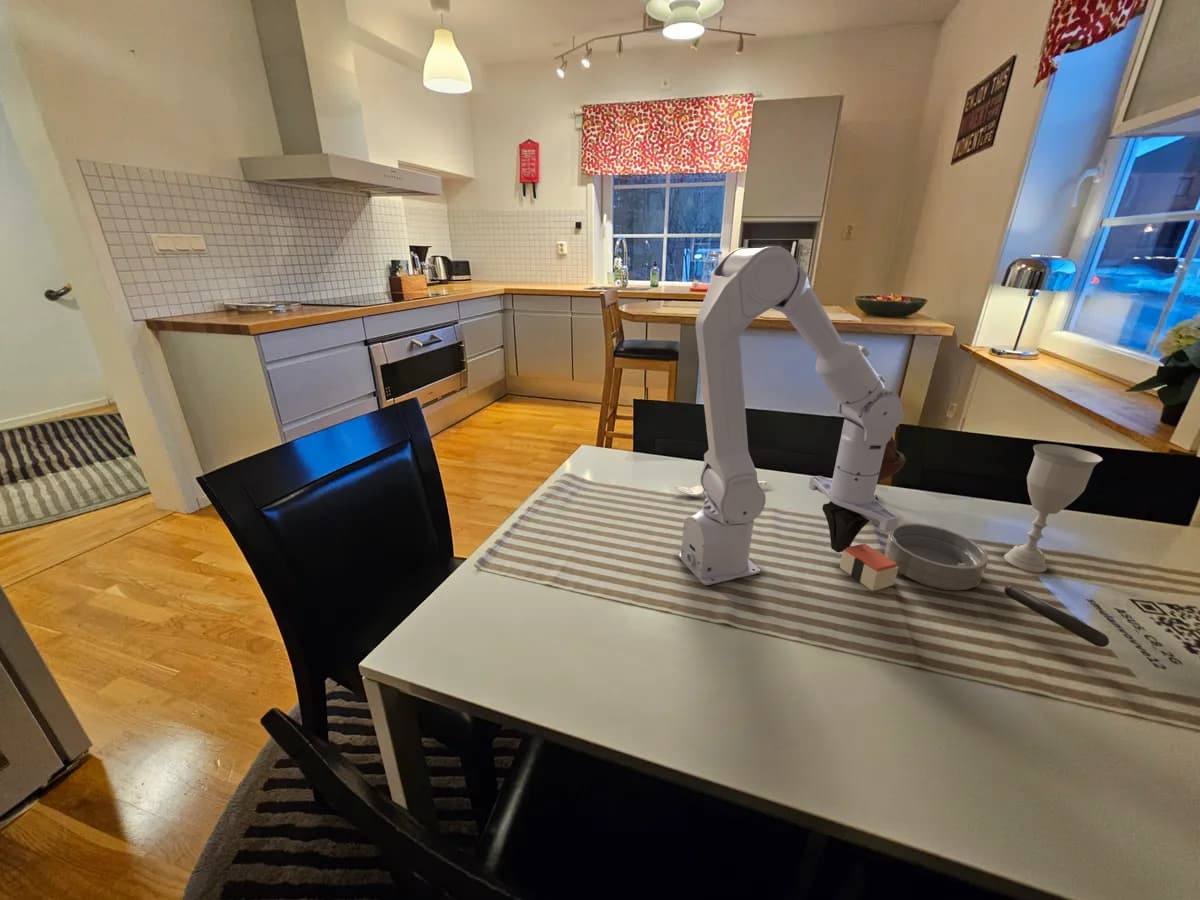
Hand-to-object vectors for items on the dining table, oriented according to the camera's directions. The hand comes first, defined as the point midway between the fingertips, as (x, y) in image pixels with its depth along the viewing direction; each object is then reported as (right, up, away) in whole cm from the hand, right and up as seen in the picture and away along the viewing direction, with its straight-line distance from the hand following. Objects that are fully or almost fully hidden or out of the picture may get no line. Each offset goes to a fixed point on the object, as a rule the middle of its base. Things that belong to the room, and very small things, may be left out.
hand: (839, 549), depth 75 cm
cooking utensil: (-19, +7, +21) cm, 29 cm away
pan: (+13, -2, -2) cm, 13 cm away
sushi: (+2, -3, -4) cm, 5 cm away
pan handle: (+18, -5, -16) cm, 24 cm away
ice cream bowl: (+14, +6, +20) cm, 25 cm away
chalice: (+28, -2, 0) cm, 28 cm away
